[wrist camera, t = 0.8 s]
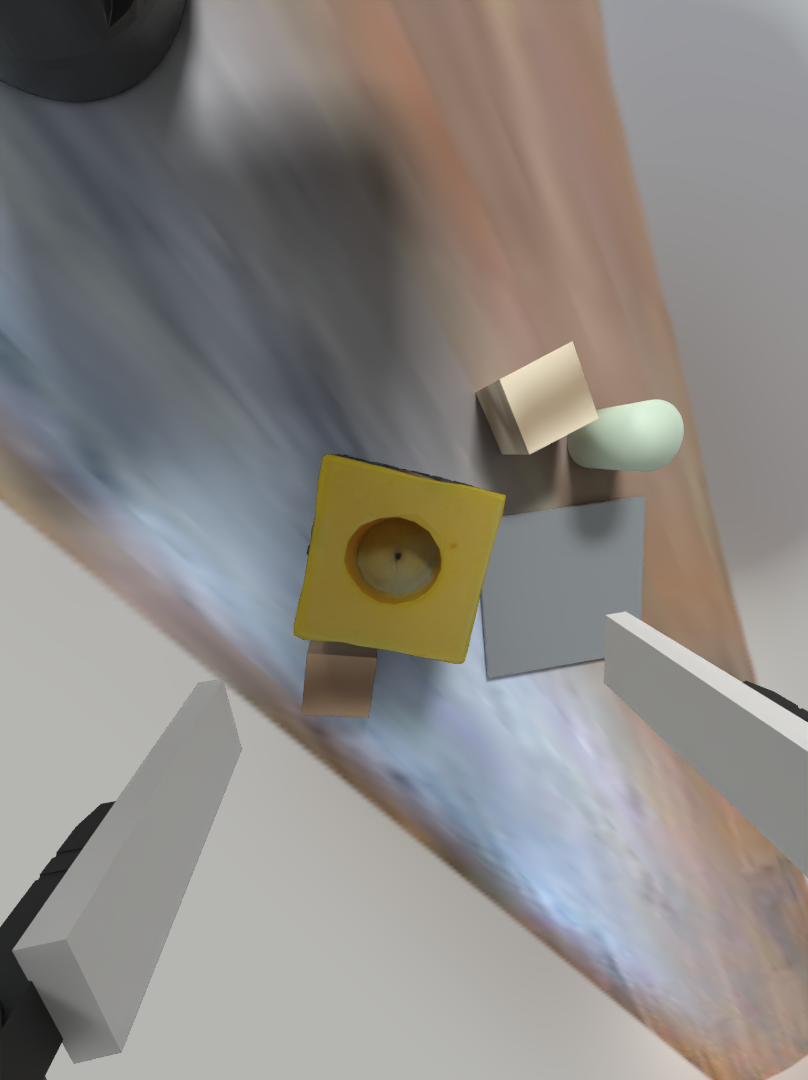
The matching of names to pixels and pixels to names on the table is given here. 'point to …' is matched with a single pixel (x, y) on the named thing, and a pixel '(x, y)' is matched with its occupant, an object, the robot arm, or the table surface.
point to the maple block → (538, 403)
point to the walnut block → (338, 679)
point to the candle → (396, 559)
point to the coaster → (560, 583)
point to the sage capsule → (629, 437)
